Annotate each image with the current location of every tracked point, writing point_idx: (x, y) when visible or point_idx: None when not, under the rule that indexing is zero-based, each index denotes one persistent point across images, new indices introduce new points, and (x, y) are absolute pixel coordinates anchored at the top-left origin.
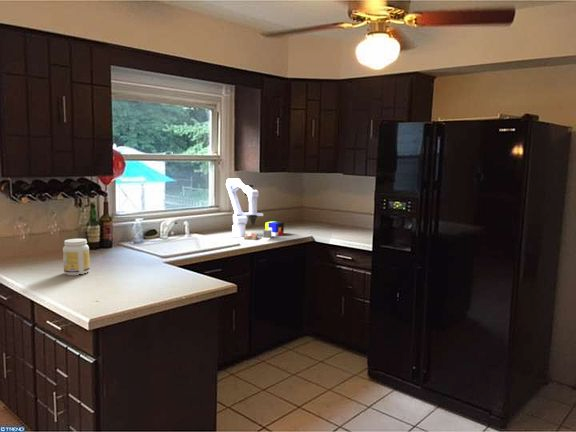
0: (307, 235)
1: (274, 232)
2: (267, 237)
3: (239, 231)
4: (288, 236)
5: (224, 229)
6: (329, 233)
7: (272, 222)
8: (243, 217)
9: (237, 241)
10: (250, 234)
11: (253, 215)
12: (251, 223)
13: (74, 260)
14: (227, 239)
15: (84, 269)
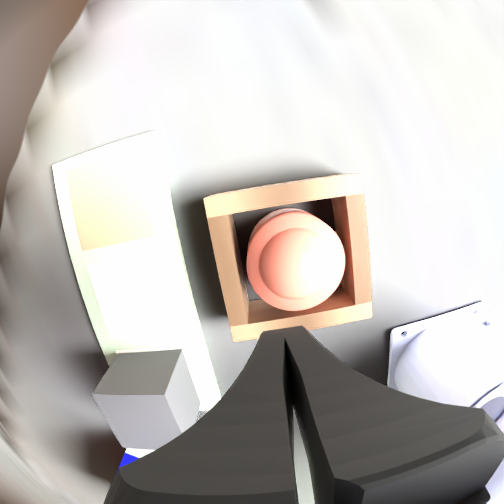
0: (34, 463)
1: (135, 456)
2: (142, 353)
3: (461, 347)
4: (77, 444)
5: None
6: (18, 486)
7: None
8: (496, 497)
9: (380, 86)
10: (294, 233)
11: None
12: (320, 344)
13: None
14: (491, 173)
15: None
